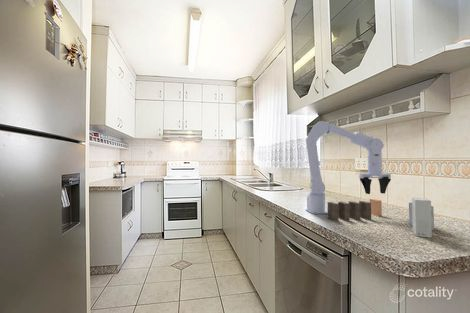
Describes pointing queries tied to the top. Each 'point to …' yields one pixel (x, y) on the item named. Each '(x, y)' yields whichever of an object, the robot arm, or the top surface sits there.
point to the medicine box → (411, 216)
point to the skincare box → (421, 217)
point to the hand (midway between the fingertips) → (375, 193)
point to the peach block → (376, 207)
